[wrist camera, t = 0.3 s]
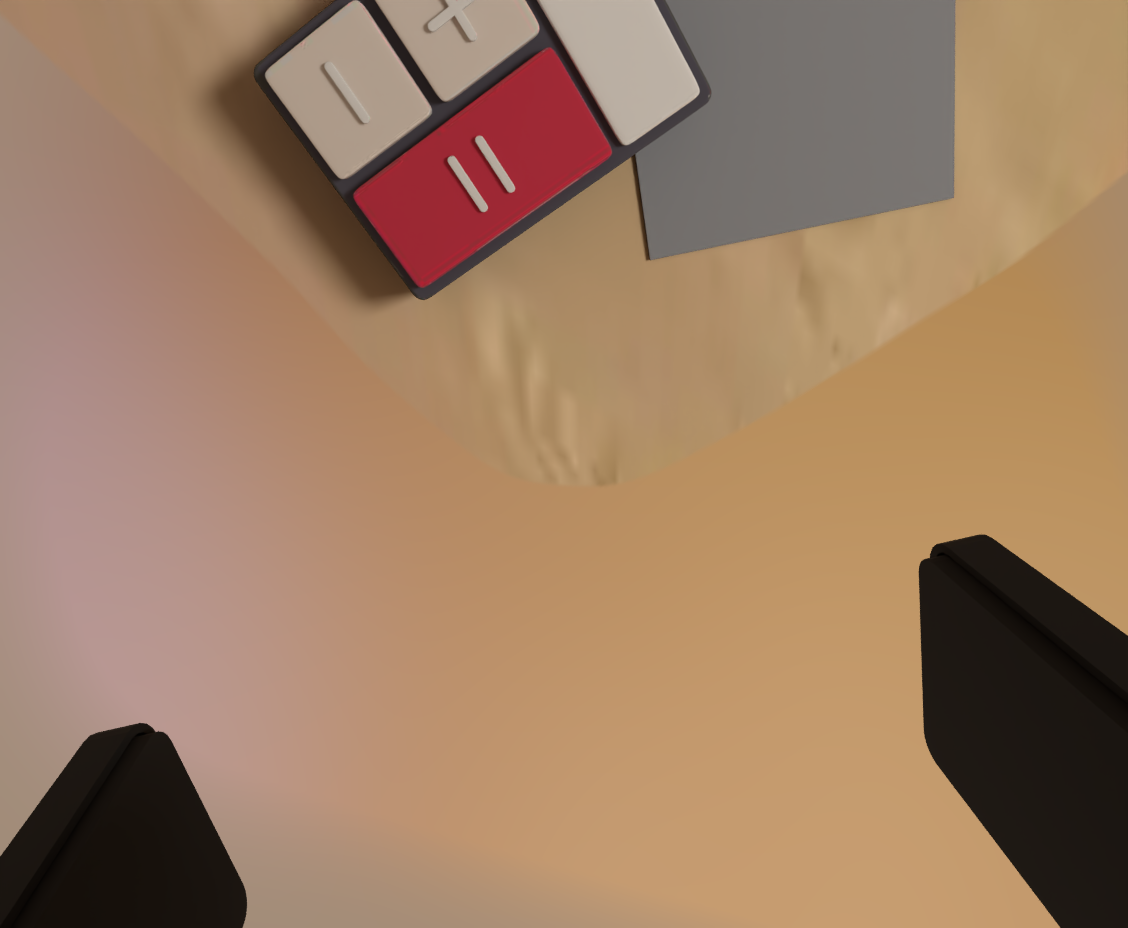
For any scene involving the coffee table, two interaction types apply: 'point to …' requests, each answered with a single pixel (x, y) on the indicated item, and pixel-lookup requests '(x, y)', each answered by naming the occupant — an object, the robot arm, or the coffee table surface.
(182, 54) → the coffee table surface
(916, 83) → the desk mat
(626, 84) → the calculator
